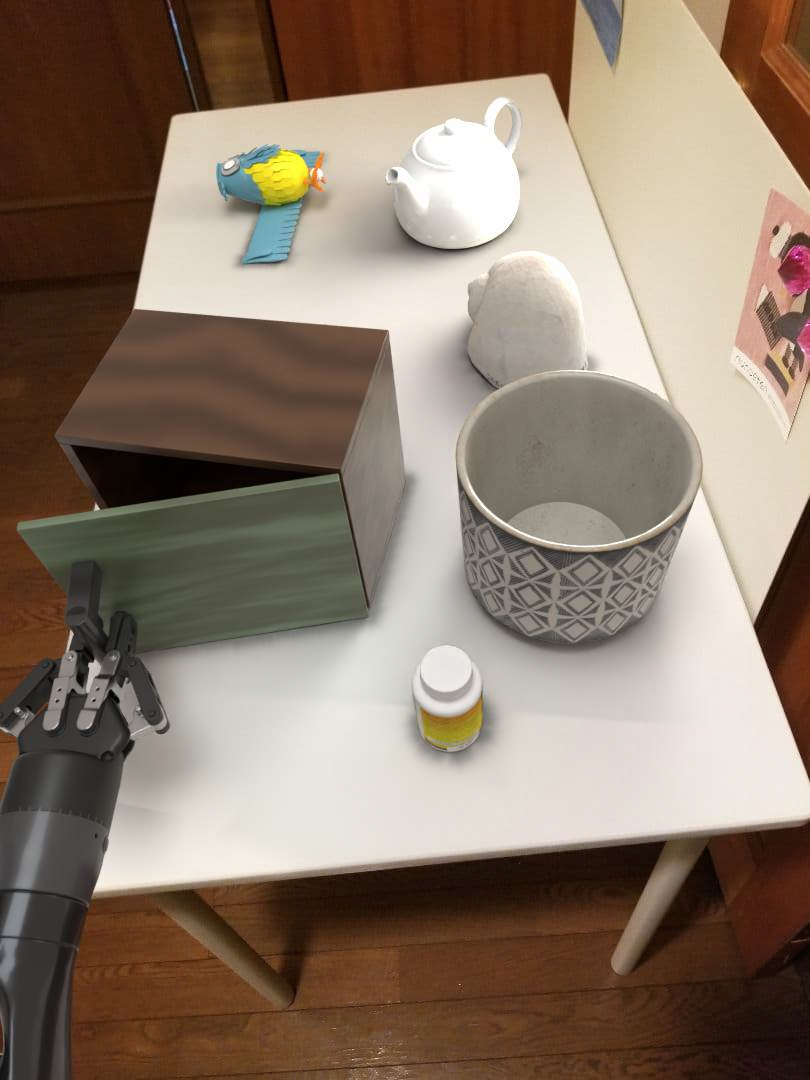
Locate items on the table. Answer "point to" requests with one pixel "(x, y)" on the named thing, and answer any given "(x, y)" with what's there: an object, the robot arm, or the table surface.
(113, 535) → the cupboard door
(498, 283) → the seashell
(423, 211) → the teapot
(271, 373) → the cupboard
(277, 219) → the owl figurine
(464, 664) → the supplement bottle
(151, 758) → the table surface
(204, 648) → the table surface
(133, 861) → the table surface
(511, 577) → the planter
